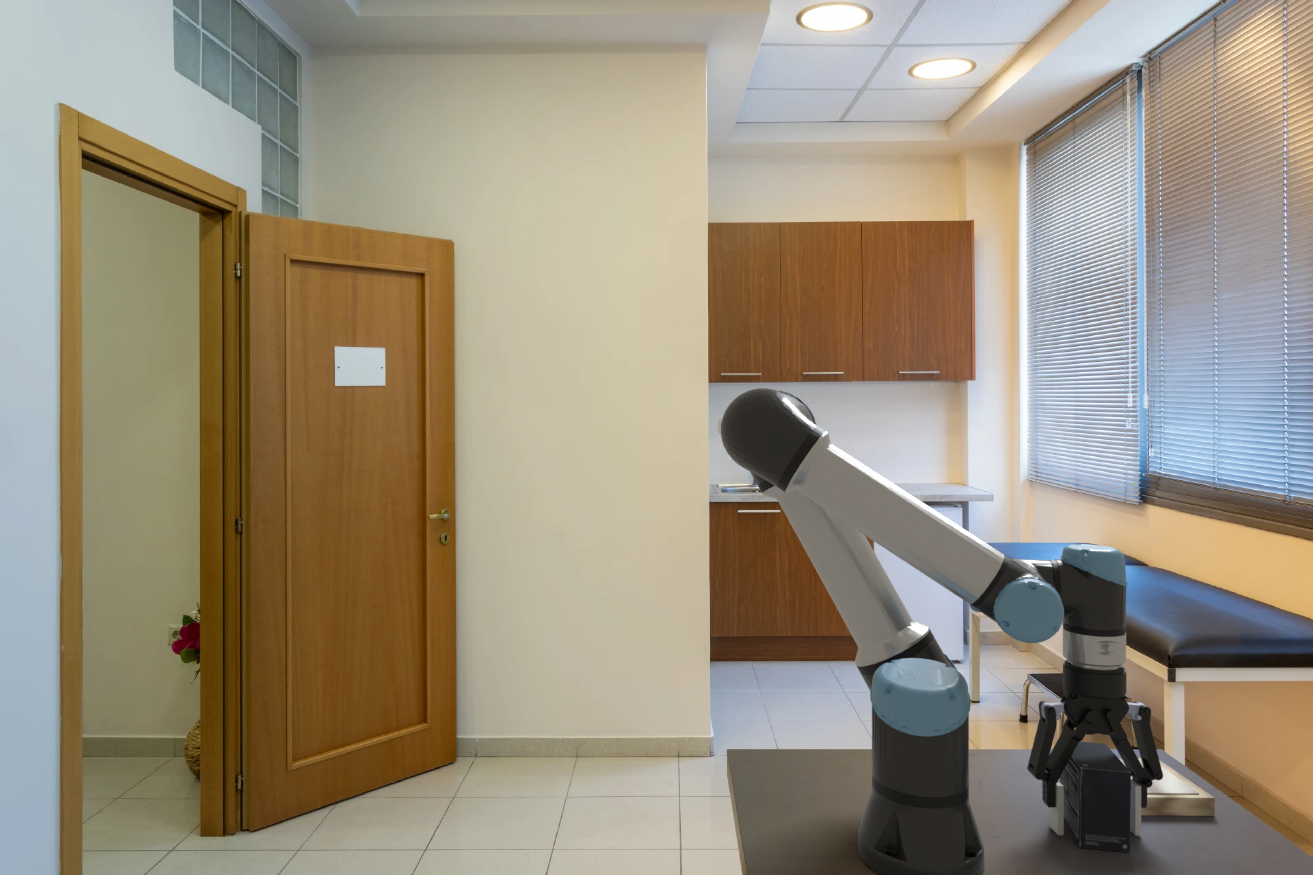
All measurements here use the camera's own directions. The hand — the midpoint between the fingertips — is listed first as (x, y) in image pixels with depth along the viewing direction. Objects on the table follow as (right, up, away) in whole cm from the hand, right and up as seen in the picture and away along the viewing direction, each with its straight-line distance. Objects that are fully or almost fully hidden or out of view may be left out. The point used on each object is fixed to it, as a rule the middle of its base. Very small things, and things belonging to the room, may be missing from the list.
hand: (1094, 830), depth 112 cm
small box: (0, 0, 0) cm, 0 cm away
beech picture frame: (+13, 0, +12) cm, 18 cm away
